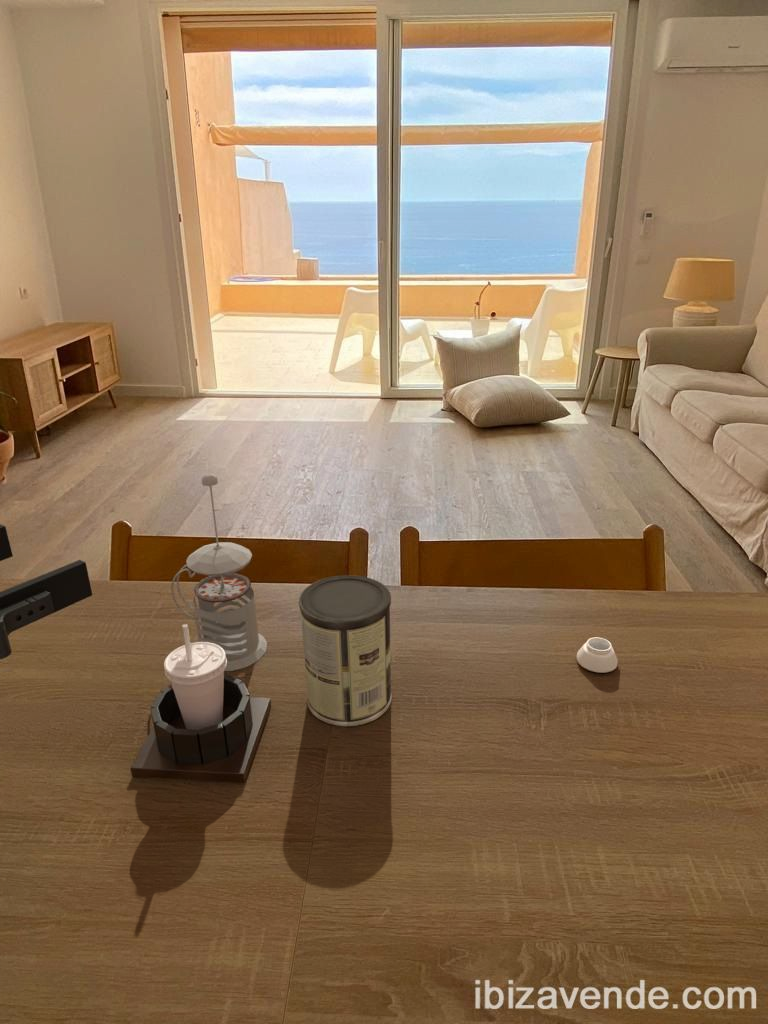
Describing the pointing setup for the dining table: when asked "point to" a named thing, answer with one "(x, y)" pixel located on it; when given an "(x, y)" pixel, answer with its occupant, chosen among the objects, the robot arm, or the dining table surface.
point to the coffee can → (347, 649)
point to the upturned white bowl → (597, 655)
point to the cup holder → (203, 738)
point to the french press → (224, 598)
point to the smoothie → (197, 681)
